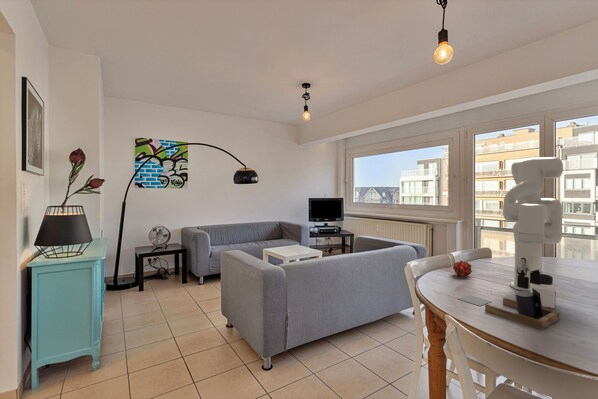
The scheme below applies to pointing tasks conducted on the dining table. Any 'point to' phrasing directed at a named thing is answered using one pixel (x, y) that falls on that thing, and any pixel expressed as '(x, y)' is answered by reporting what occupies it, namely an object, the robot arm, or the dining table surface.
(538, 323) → the walled lane
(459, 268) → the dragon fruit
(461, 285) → the dining table surface
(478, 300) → the mat
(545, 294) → the medicine bottle
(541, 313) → the speaker
